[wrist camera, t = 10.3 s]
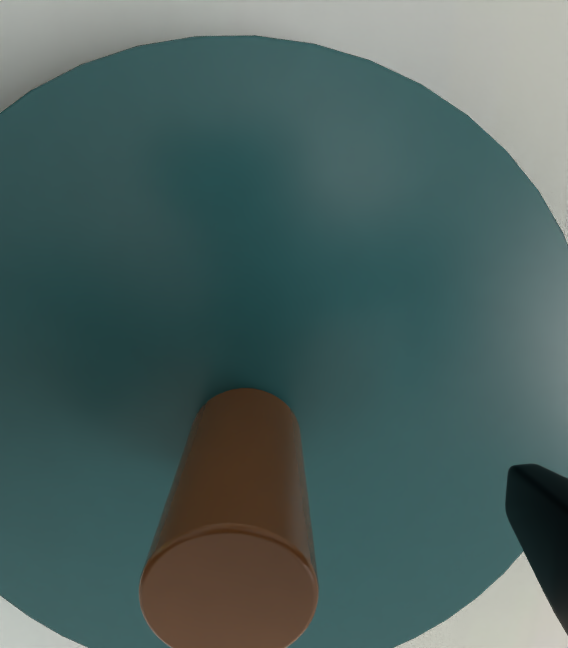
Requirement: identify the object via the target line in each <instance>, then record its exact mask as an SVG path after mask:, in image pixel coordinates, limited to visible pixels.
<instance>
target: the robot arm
mask: <svg viewBox="0 0 568 648" xmlns="http://www.w3.org/2000/svg"><path fill="white" fill-rule="evenodd" d="M505 511H506V515H507V518H508V520H509V523H510V525H511V527H512V529H513V531H514V533H515V535H516V537H517V539H518V541H519V543H520V545H521V547H522V549H523V551H524V553H525V555H526V557H527V559H528V561H529V563H530V565H531V567H532V569H533V571H534V573H535V575H536V577H537V579H538V581H539V583H540V585H541V587H542V590H543V592H544V594H545V596H546V598H547V599H548V601H549V603H550V605H551V607H552V609H553V611H554V613H555V615H556V616H557V618H558V620H559V621H560V623H561V625H562V627H563V628H564V630H565V632H566V633H567V635H568V478H566V477H564V476H562V475H560V474H557V473H555V472H553V471H551V470H549V469H547V468H545V467H542V466H540V465H538V464H533V463H531V464H520V465H513V466H511V467H510V468H509V470H508V475H507V486H506V497H505Z"/></svg>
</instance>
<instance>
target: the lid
mask: <svg viewBox="0 0 568 648" xmlns="http://www.w3.org/2000/svg"><path fill="white" fill-rule="evenodd" d="M531 463H533V464H538V465H540V466H542V467H545V468H547V469H549V470H551V471H553V472H555V473H557V474H560V475H562V476H564V477H566V478H568V245H567V242H566V240H565V237H564V234H563V232H562V230H561V229H560V227H559V225H558V224H557V222H556V220H555V218H554V217H553V215H552V213H551V211H550V210H549V208H548V206H547V205H546V203H545V201H544V199H543V198H542V196H541V194H540V192H539V191H538V189H537V188H536V187H535V186H534V185H533V183H532V182H531V181H530V180H529V178H528V177H527V176H526V175H525V173H524V172H523V171H522V170H521V168H520V167H519V166H518V165H517V163H516V162H515V161H514V160H513V158H512V157H511V156H510V155H509V153H508V152H507V151H506V150H505V149H504V148H503V147H502V146H501V145H499V144H498V143H497V142H496V141H495V140H494V139H493V138H492V137H491V136H490V135H489V134H487V133H486V132H485V131H484V130H483V129H482V128H481V127H480V126H479V125H478V124H476V123H475V122H474V121H473V120H472V119H471V118H470V117H469V116H468V115H466V114H465V113H463V112H462V111H460V110H459V109H458V108H456V107H455V106H453V105H452V104H450V103H449V102H447V101H446V100H444V99H443V98H441V97H440V96H438V95H437V94H435V93H434V92H432V91H431V90H429V89H428V88H426V87H425V86H423V85H422V84H420V83H417V82H415V81H413V80H411V79H409V78H407V77H405V76H402V75H400V74H398V73H396V72H394V71H392V70H390V69H388V68H385V67H383V66H381V65H379V64H377V63H375V62H373V61H370V60H367V59H364V58H361V57H357V56H354V55H351V54H347V53H344V52H340V51H337V50H334V49H330V48H327V47H324V46H320V45H317V44H313V43H306V42H299V41H291V40H284V39H277V38H270V37H262V36H255V35H252V36H194V37H188V38H182V39H176V40H170V41H164V42H158V43H152V44H146V45H140V46H135V47H132V48H129V49H126V50H123V51H120V52H117V53H114V54H111V55H108V56H105V57H102V58H99V59H96V60H93V61H90V62H87V63H84V64H81V65H79V66H77V67H75V68H73V69H72V70H70V71H68V72H66V73H64V74H62V75H60V76H58V77H56V78H54V79H52V80H50V81H48V82H46V83H44V84H42V85H41V86H39V87H37V88H35V89H33V90H31V91H29V92H28V93H27V94H25V95H24V96H23V97H21V98H20V99H19V100H17V101H16V102H14V103H13V104H12V105H10V106H9V107H8V108H6V109H5V110H4V111H2V112H1V113H0V596H2V597H3V598H4V599H6V600H7V601H8V602H10V603H11V604H13V605H14V606H15V607H17V608H18V609H19V610H21V611H22V612H23V613H25V614H26V615H28V616H29V617H31V618H32V619H34V620H36V621H37V622H39V623H41V624H43V625H44V626H46V627H48V628H49V629H51V630H53V631H55V632H56V633H58V634H60V635H61V636H63V637H66V638H68V639H70V640H72V641H74V642H77V643H79V644H81V645H83V646H85V647H88V648H394V647H396V646H398V645H400V644H403V643H405V642H407V641H409V640H411V639H414V638H416V637H418V636H419V635H421V634H423V633H425V632H426V631H428V630H430V629H431V628H433V627H435V626H437V625H438V624H440V623H442V622H444V621H445V620H447V619H448V618H450V617H451V616H453V615H454V614H455V613H457V612H458V611H459V610H461V609H462V608H464V607H465V606H466V605H468V604H469V603H470V602H472V601H473V600H475V599H476V598H477V597H478V596H479V595H481V594H482V593H483V592H484V591H485V590H486V589H487V588H488V587H489V586H490V585H492V584H493V583H494V582H495V581H496V580H497V579H498V578H499V577H500V576H501V575H503V574H504V573H505V571H506V570H507V569H508V568H509V567H510V566H511V565H512V564H513V562H514V561H515V560H516V559H517V558H518V557H519V556H520V554H521V553H522V552H523V549H522V547H521V545H520V543H519V541H518V539H517V537H516V535H515V533H514V531H513V529H512V527H511V525H510V523H509V520H508V518H507V515H506V511H505V497H506V486H507V475H508V470H509V468H510V467H511V466H513V465H520V464H531Z"/></svg>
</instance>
